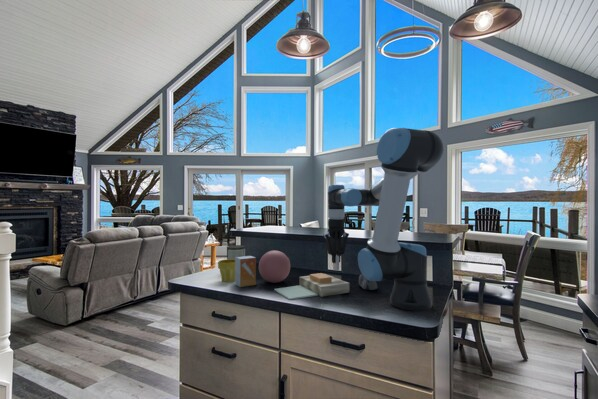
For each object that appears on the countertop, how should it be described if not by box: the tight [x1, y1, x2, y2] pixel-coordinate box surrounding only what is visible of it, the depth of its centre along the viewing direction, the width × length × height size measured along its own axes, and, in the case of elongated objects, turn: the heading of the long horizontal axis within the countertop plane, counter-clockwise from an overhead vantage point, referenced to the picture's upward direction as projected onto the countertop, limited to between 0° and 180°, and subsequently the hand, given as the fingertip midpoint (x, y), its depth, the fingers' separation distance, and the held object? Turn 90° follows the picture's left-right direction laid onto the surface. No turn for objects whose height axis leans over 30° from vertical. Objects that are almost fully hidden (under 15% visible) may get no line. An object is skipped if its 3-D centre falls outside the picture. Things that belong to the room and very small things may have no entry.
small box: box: [234, 255, 257, 288], centre depth 152 cm, size 8×6×13 cm
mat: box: [273, 284, 319, 301], centre depth 138 cm, size 16×13×1 cm
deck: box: [299, 273, 350, 298], centre depth 144 cm, size 20×14×4 cm
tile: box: [309, 272, 333, 283], centre depth 144 cm, size 9×6×2 cm, turn 27°
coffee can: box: [226, 244, 246, 259], centre depth 181 cm, size 10×10×14 cm
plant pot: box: [217, 258, 235, 283], centre depth 160 cm, size 10×10×10 cm
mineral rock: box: [358, 273, 378, 291], centre depth 148 cm, size 13×11×10 cm
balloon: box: [258, 249, 291, 284], centre depth 158 cm, size 15×20×15 cm
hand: (336, 269), depth 148 cm, fingers closed
